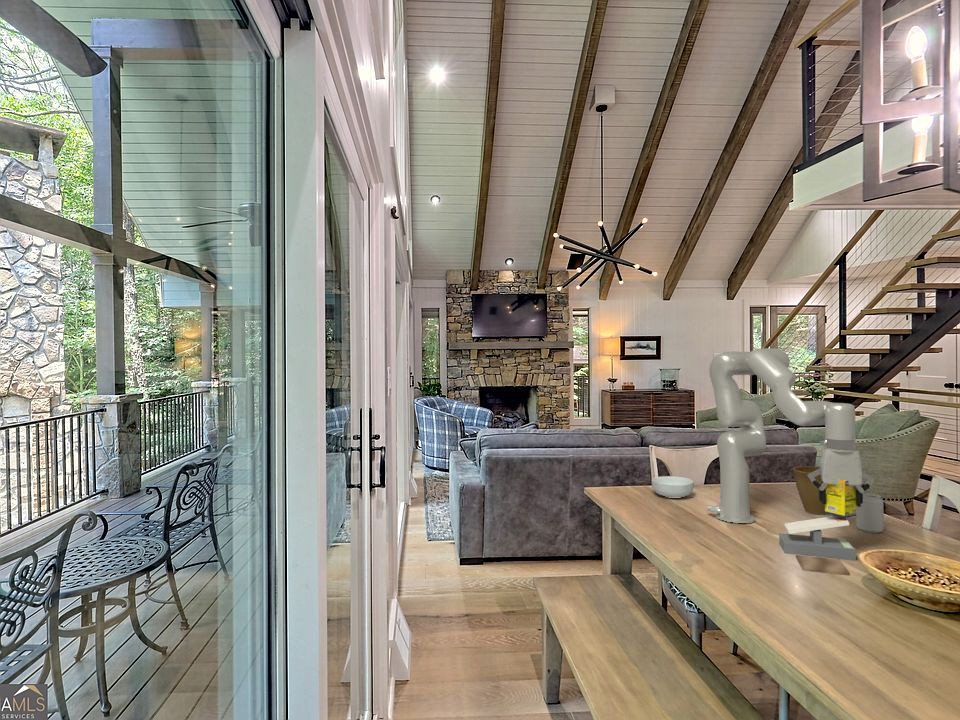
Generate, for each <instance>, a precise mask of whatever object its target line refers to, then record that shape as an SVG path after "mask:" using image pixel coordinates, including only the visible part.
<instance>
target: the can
mask: <svg viewBox="0 0 960 720" xmlns="http://www.w3.org/2000/svg"><path fill="white" fill-rule="evenodd" d="M884 514H885V513H884V500H883V499H882V496H881V495H879V494H875V493H868V492H867V493H866V492H864V493H863V504H861V507H858V506H857V505H856V516H855V519H856V520H855V521H856V523H855V526H856V528H857V529H858V530H859V531H861V532H863V533H867V534H880V533H882V532H884V530H885V528H884V525H885V524H884V523H885V522H884V518H885V517H884Z"/></svg>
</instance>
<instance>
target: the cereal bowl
mask: <svg viewBox="0 0 960 720" xmlns="http://www.w3.org/2000/svg"><path fill="white" fill-rule="evenodd" d="M694 485H695V481H694V480H692V479H691V478H687V477H682V476H673V475H668V476H667V475H666V476H664V475H663V476H657V477H656V476H655V477H653V478H651V487H652V489H653V491H654V492H655V493H656V494H658V495H659V496H662V495H663V496H666V497H683V498H684V497H687V496H689V495H690V494H691V493H693V491H694ZM663 496H662V497H663Z"/></svg>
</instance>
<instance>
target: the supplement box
mask: <svg viewBox="0 0 960 720" xmlns="http://www.w3.org/2000/svg"><path fill="white" fill-rule="evenodd" d="M856 490H857V489H856V487H855V486H850V485H849V481H847V480H839V481H838V484H837V485H833V484H828V485H827V486H826V488H825V491H826V504H825V514H826V515H829V516H837V517H841V518H846V519H848V518H850V517H856Z"/></svg>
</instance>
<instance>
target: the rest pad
mask: <svg viewBox="0 0 960 720" xmlns="http://www.w3.org/2000/svg"><path fill="white" fill-rule="evenodd" d="M795 559H796V560H797V562H798V564H799V566H800V568H801V570H802V571H805V572H807V571H808V572H817V573H825V574H835V575H836V574H837V575H843V576H850V575H851V572H850V571H849V570H848V568H847V566H845V564H844V563H843V561H842V559H838V558H828V557H818V556H808V555H798V554H795Z"/></svg>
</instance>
